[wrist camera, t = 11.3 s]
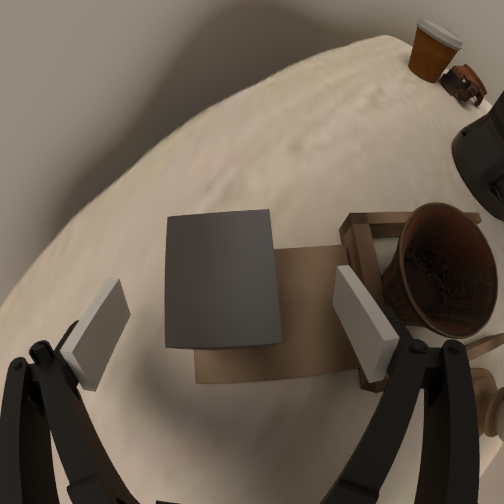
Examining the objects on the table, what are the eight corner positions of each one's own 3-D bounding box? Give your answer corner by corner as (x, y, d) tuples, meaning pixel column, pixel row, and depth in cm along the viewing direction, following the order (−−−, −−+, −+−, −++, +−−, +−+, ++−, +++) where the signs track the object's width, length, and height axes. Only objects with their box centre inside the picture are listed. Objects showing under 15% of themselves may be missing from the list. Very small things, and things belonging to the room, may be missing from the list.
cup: (322, 259, 22) (390, 199, 13) (400, 243, 24) (470, 194, 15) (350, 363, 20) (439, 362, 10) (425, 330, 21) (508, 309, 12)
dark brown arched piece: (433, 73, 38) (458, 55, 31) (457, 107, 40) (482, 91, 34) (445, 87, 31) (475, 66, 25) (472, 128, 34) (501, 109, 27)
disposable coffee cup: (396, 67, 36) (415, 17, 25) (405, 55, 39) (421, 13, 27) (440, 94, 34) (465, 47, 23) (444, 79, 37) (464, 38, 25)
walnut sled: (463, 224, 24) (530, 166, 13) (488, 345, 19) (574, 324, 8) (194, 237, 23) (152, 139, 12) (200, 405, 19) (144, 460, 7)
